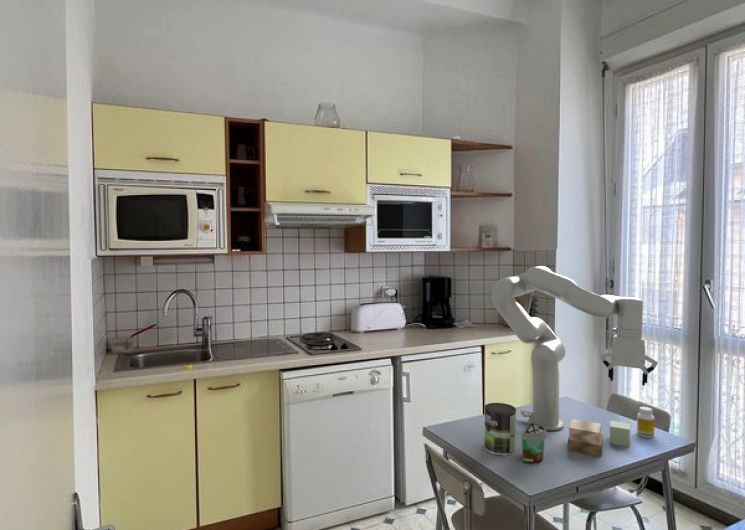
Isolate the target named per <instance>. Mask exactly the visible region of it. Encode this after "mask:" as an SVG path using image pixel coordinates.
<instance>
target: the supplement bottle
mask: <svg viewBox="0 0 745 530" xmlns="http://www.w3.org/2000/svg"><path fill="white" fill-rule="evenodd" d="M638 409H639V412H638V413H637V415H636V433H637V436H640V437H643V438H646V439H647V438H649V439H650V438H652V439H653V438H654V437H655V416H654V415H653V409H652V408H651V407H647V406H640V407H639V408H638Z"/></svg>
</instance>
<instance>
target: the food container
mask: <svg viewBox="0 0 745 530" xmlns="http://www.w3.org/2000/svg"><path fill="white" fill-rule="evenodd" d="M547 437H548V433H547V430H546V429H545V427H544V426H543V425H541V424H539V423H537V422H533V421H531V424H529V426H527V428H526V429H525V431H524V432H521V440H522V441H521V443H522V447H521V448H522V463H523V464H529V465H536V464H540V463H542V462H543V461H544V449H545V439H546V438H547Z"/></svg>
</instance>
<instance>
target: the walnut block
mask: <svg viewBox="0 0 745 530" xmlns="http://www.w3.org/2000/svg"><path fill="white" fill-rule="evenodd" d="M603 447H604V434H601V438H600V443H599V445H596V444H590V443H585V442H580V441H574V440H569V437H568V439H567V451H568V452H574V453H580V454H584V455H588V456H589V455H590V456H595V457H602V455H603V454H602V453H603Z"/></svg>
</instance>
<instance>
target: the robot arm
mask: <svg viewBox="0 0 745 530" xmlns="http://www.w3.org/2000/svg"><path fill="white" fill-rule="evenodd" d="M536 291H538V292H540V293H544V294H545V295H548V296H551V297H552V298H555V299H557V300H560V301H562V302H563V303H564V304H567V305H569V306H570V307H573V308H574V309H576V310H578V311H581V312H582V313H586V314H588V315H590V316H593V317H595V318H598V319H608V318H610V317H612V316H616V317H617V319H616V327H615V328H614V327H612V329H611V331H612V333H615V334H616V335H614V336H613V339H612V345H611V351H607V352H604V353H602V354H600V355H599V356H600V360H601V361H602V363H603V365H604V366H605V367H606V368H607V369H608V370H607V371H608V372H607V373H608V376H607V377H608V378H609V381H610V382H612V381H614V374H615V373H614V369H615V368H614V367H615V366H617V367H624V368H632V369H640V370H641V371H642V374H641V375H642V376H641V377H642V378H641V379H642V380H641V386H643V387H645V386H646V384H648V377H649V376H648V375H649V374H650V373H652V372H653V371H654V370H655V368H657V365H658V361H657V360H655V359H653V358H651V357H650V356H648V355H646V343H645V338H644V337H642V336H643V314H644V313H643V310H644V309H643V307H644V302H643V299H641V298H639V297H634V296H633V297H632V296H616V295H611V294H602V295H600V294H597V293H594V292H592V291H590V290H587V289H584V288H583V287H582V286H579V285H578V284H577V283H576V282H575V281H574V280H573V279H571V278H568V277H566V276H564V275H561V274H558V273H555V272H553V271H552V270H551V269H550V268H549V267H547V266H545V265H544V266H543V265H539V266H533V267H532V266H531V267H530V268H529V269H527V270H526V271H525V272H522V273H520V274H517V275H514V276H505V277H502V278H500V279H499V280H497V282H495V284H494V286H493V288H492V290H491V299H492V303H493V306H494V308H495V309H496V311H497V312H498V313H499V314H500V316H501V317H502V319H503V320H504V322H506V324H507V325H508V327H510V329H511V330H512V332H514V334H515V336H516V337H517V338H518V339H519V341H521V342H522V343H523V344H528V345H529V344H532V345H533V346H534V348H533V349H532V351H531V354H530V361H531V362H530V363H531V369H532V370H531V371H532V372H531V373H532V410H526V409H521V410H520V415H521V416H522V417H525V418H528V421H527V422H528V425H530V424H531V421H533V422H537V423H539V424H541V425H543V426H544V427H545V429H546V431H560V430H562V429H563V428H564V422H563V420H560V371H559V363H560V362H561V361H563V359H564V358H565V356H566V349H565V346H564V344H563V342H562V341H561V340H560V339H559V337H558V336H557V335H556V334H555V332H554V331H553V330H552V329H551V327H550V326H549V325H548V324H547V323H546V322H545V321H544V320H543V319H542V318H539V317H537V316H530V315H529V314H528V313H527V311H526V310H525V309H524V307H523V306H522V305H521V304H520V303H519V302H517V301H516V299H515V298H517V297H518V298H519V297H520V296H524V295H527V294H529V293H533V292H536ZM607 357H610V362H609V361H608V360H607ZM646 361H647V362H649V363H650V364H651V365H650V366H648V368H647V366H646Z"/></svg>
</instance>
